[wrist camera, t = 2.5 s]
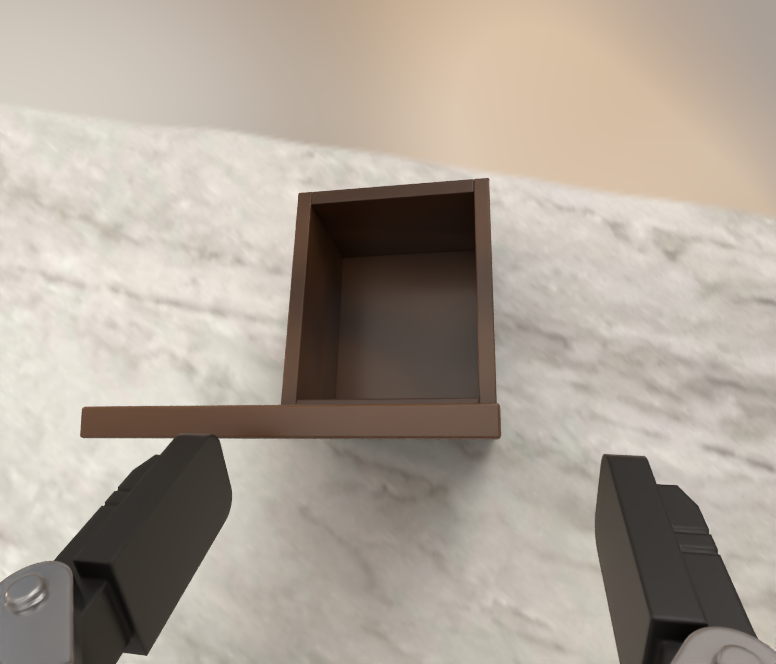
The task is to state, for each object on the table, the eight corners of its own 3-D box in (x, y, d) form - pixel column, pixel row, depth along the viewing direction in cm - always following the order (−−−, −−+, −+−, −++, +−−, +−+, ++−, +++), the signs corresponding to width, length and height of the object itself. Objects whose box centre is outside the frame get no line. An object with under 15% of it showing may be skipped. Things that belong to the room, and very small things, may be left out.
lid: (80, 406, 14) (78, 438, 14) (500, 403, 13) (501, 439, 12) (276, 405, 28) (276, 422, 27) (496, 403, 26) (497, 421, 26)
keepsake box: (335, 252, 39) (298, 192, 32) (490, 243, 37) (488, 177, 30) (324, 435, 35) (279, 415, 28) (497, 436, 33) (497, 414, 26)
